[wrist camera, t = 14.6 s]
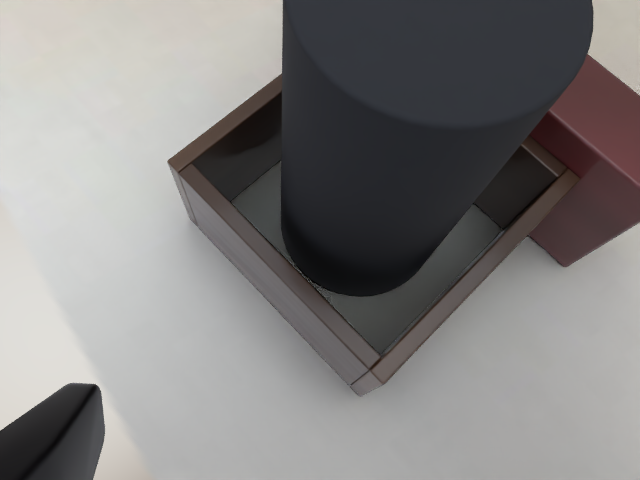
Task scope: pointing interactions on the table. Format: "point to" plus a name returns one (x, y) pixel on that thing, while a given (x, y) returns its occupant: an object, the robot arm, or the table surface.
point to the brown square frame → (496, 201)
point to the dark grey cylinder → (408, 121)
